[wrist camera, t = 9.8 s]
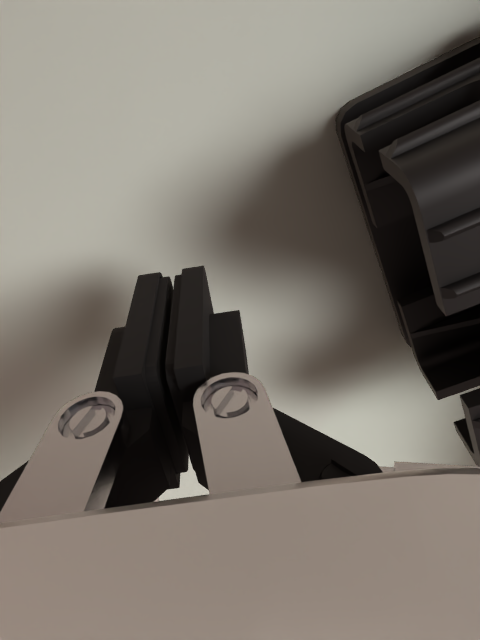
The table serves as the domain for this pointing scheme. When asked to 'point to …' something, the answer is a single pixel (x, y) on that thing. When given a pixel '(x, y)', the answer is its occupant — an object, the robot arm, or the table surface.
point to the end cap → (427, 214)
